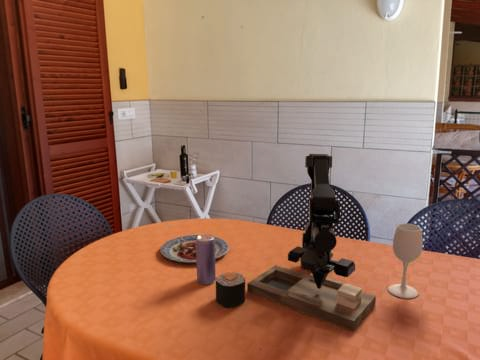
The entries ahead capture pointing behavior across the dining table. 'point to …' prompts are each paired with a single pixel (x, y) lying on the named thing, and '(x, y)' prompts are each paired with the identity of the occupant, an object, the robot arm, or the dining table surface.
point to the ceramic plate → (189, 248)
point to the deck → (309, 296)
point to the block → (349, 296)
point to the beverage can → (205, 259)
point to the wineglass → (406, 256)
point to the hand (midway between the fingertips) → (319, 288)
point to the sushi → (230, 289)
